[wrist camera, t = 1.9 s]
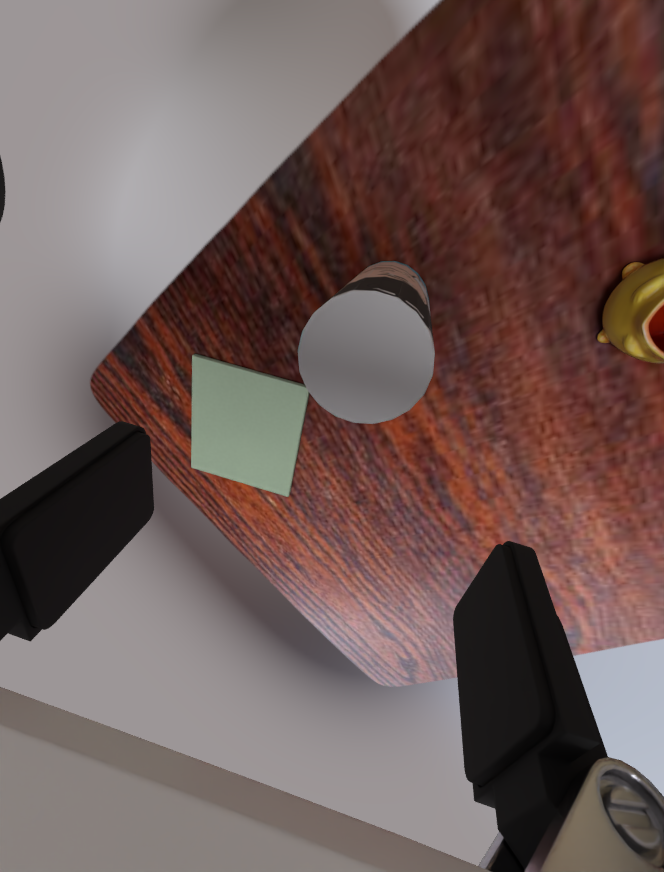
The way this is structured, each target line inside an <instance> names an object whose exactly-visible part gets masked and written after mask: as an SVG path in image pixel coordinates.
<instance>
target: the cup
mask: <svg viewBox="0 0 664 872" xmlns="http://www.w3.org/2000/svg"><path fill="white" fill-rule="evenodd" d="M434 356H435V352H434V343H433V334H432V325H431V316H430V307H429V298H428V294H427V290H426V285H425V284H424V282H423V280H422V279H421V277H420V276H419V274H418V273H417V272H416V271H414V270H413V269H412V268H410V267H409V266H408V265H405V264H402V263H399V262H396V261H381V262H379V263H376V264H373V265H371V266H368V267H367V268H366V269H365V270H364V271H362V272H361V273H360V274H359V275H358V276H356V277H355V278H354V279H353V280H352V281H350V282H349V283H348V284H347V285H346V286H345V287H343V288H342V289H341V290H340V291H339V292H338V293H336V294H335V295H334V296H333V297H332V298H331V299H329V300H328V301H327V302H326V303H325V304H324V305H322V306H321V307H320V308H319V309H318V310H316V311H315V312H314V313H313V315H312V316H311V318H310V320H309V321H308V323H307V324H306V326H305V328H304V329H303V331H302V335H301V339H300V344H299V348H298V360H299V371H300V374H301V376H302V379H303V381H304V383H305V386H306V388H307V390H308V391H309V393H310V394H311V395H312V396H313V398H314V399H315V400H316V401H317V403H318V404H319V405H320V406H322V407H323V408H325V409H326V410H327V411H329V412H330V413H332V414H333V415H335V416H336V417H339V418H342V419H345V420H348V421H351V422H354V423H370V424H374V423H379V422H383V421H387V420H392V419H394V418H396V417H398V416H399V415H401V414H403V413H405V412H406V411H408V410H410V409H411V408H412V407H413V406H414V405H415V404H416V403H417V401H418V400H419V399H420V398H421V397H422V396H423V395H424V393H425V391H426V389H427V387H428V385H429V382H430V380H431V378H432V376H433V367H434Z"/></svg>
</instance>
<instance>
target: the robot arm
mask: <svg viewBox="0 0 664 872" xmlns="http://www.w3.org/2000/svg"><path fill="white" fill-rule="evenodd" d="M153 511H154V500H153V481H152V463H151V444H150V437H149V436H148V435H146V432H145V430H144V428H142V427H139V426H136V425H133V424H129V423H126V422H123V421H122V422H118V423H116V424H114V425H113V426H111V427H109V428H108V429H106V430H105V431H103V432H102V433H100V434H99V435H97V436H96V437H94V438H93V439H91V440H90V441H88V442H87V443H85V444H83V445H82V446H80V447H79V448H77V449H76V450H74V451H73V452H71V453H70V454H68V455H67V456H65V457H64V458H62V459H61V460H59V461H58V462H56V463H54V464H53V465H51V466H50V467H49V468H47V469H45V470H44V471H42V472H41V473H39V474H38V475H36V476H35V477H33V478H32V479H30V480H29V481H27V482H25V483H24V484H22V485H21V486H19V487H18V488H17V489H15V490H13V491H12V492H10V493H9V494H7V495H6V496H4V497H3V498H1V499H0V640H1V639H2V638H3V637H4V636H5V635H6V634H7V633H9V634H12V635H14V636H17V637H20V638H22V639H25V640H28V641H31V640H32V639H33V638H34V637H35V636H36V635H37V634H38V633H39V632H40V631H41V630H42V629H44V630H45V629H48V628H49V627H51V626H52V625H53V624H54V623H55V622H56V621H57V620H58V619H59V618H60V617H61V616H62V615H63V613H65V611H66V610H67V609H68V608H69V607H70V606H71V605H72V604H73V603H74V602H75V600H76V599H77V598H78V597H79V596H80V595H81V594H82V593H83V592H84V591H85V590H86V589H87V587H88V586H89V585H90V584H91V583H92V582H93V581H94V580H95V579H96V578H97V576H99V574H100V573H101V572H102V571H103V570H104V569H105V568H106V567H107V566H108V565H109V564H110V562H111V561H112V560H113V559H114V558H115V557H116V556H117V555H118V554H119V553H120V552H121V550H122V549H123V548H124V547H125V546H126V545H127V544H128V543H129V542H130V541H131V540H132V538H133V537H134V536H135V535H136V534H137V533H138V532H139V531H140V529H142V528H143V526H144V525H145V524H146V523H147V522H148V521H149V520H150V518H151V516H152V514H153ZM453 625H454V638H455V651H456V664H457V677H458V690H459V703H460V716H461V729H462V742H463V755H464V768H465V774H466V777H467V779H468V781H470V782H472V783H473V792H474V801H476V802H478V803H481V804H484V805H487V806H490V807H492V808H495V809H496V817H497V825H498V830H499V833H498V834H497V836H496V838H495V839H494V841H493V843H492V844H491V846H490V847H489V849H488V851H487V853H486V854H485V856H484V857H483V859H482V861H481V862H480V864H479V866H476V865H473V864H471V863H468V862H466V861H463V860H461V859H458V858H456V857H453V856H451V855H448V854H446V853H443V852H441V851H438V850H436V849H433V848H431V847H428V846H426V845H423V844H421V843H418V842H416V841H413V840H411V839H408V838H406V837H403V836H401V835H398V834H395V833H393V832H390V831H387V830H384V829H382V828H379V827H376V826H374V825H371V824H369V823H366V822H363V821H361V820H358V819H355V818H352V817H350V816H347V815H345V814H342V813H340V812H337V811H334V810H331V809H329V808H326V807H323V806H321V805H318V804H316V803H313V802H310V801H308V800H305V799H302V798H300V797H297V796H294V795H292V794H289V793H287V792H284V791H281V790H279V789H276V788H273V787H271V786H268V785H265V784H262V783H260V782H257V781H254V780H252V779H249V778H246V777H244V776H241V775H238V774H236V773H233V772H230V771H227V770H225V769H222V768H219V767H217V766H214V765H211V764H209V763H206V762H203V761H201V760H198V759H195V758H193V757H190V756H187V755H184V754H182V753H179V752H176V751H173V750H171V749H168V748H166V747H163V746H160V745H157V744H155V743H152V742H149V741H147V740H144V739H141V738H138V737H136V736H133V735H130V734H128V733H125V732H122V731H120V730H117V729H114V728H111V727H108V726H106V725H103V724H100V723H98V722H95V721H92V720H89V719H87V718H84V717H81V716H78V715H76V714H73V713H70V712H68V711H65V710H62V709H59V708H57V707H54V706H51V705H48V704H45V703H43V702H40V701H37V700H35V699H32V698H29V697H26V696H24V695H21V694H18V693H15V692H13V691H10V690H7V689H5V688H1V687H0V872H664V796H662V794H661V793H660V792H659V791H658V789H657V788H656V787H655V786H654V785H653V784H652V783H651V782H650V781H649V780H648V779H647V778H646V777H645V776H644V775H642V774H641V773H640V772H639V771H637V770H636V769H635V768H633V767H632V766H630V765H628V764H626V763H624V762H623V761H621V760H617V759H613V758H609V757H608V756H607V753H606V750H605V747H604V744H603V741H602V738H601V736H600V733H599V730H598V727H597V724H596V721H595V718H594V715H593V713H592V710H591V707H590V704H589V701H588V698H587V695H586V692H585V689H584V687H583V684H582V681H581V678H580V675H579V672H578V669H577V666H576V663H575V661H574V658H573V655H572V652H571V649H570V646H569V643H568V640H567V637H566V634H565V632H564V629H563V626H562V623H561V621H560V619H559V617H558V616H557V614H556V611H555V609H554V606H553V603H552V600H551V597H550V594H549V591H548V588H547V585H546V582H545V579H544V576H543V573H542V570H541V567H540V565H539V562H538V559H537V556H536V553H535V551H534V550H533V549H532V548H530V547H527V546H524V545H520V544H517V543H514V542H511V541H507V542H505V543H504V544H503V545H501V544H498V545H496V546H495V548H494V549H493V551H492V552H491V554H490V555H489V557H488V558H487V560H486V561H485V563H484V565H483V566H482V568H481V569H480V571H479V572H478V574H477V575H476V577H475V578H474V580H473V581H472V583H471V584H470V586H469V587H468V589H467V591H466V592H465V594H464V595H463V597H462V598H461V600H460V601H459V603H458V604H457V606H456V608H455V611H454V616H453Z"/></svg>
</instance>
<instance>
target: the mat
mask: <svg viewBox="0 0 664 872" xmlns="http://www.w3.org/2000/svg"><path fill="white" fill-rule="evenodd" d="M308 397H309V391H308V390H307V388H306V386H305V385H304V384H301V383H297V382H294V381H290V380H286V379H283V378H279V377H276V376H272V375H269V374H265V373H262V372H258V371H254V370H251V369H247V368H244V367H240V366H237V365H233V364H230V363H226V362H223V361H219V360H215V359H212V358H208V357H205V356H201V355H198V354H194V355H192V448H191V467H192V468H195V469H198V470H201V471H205V472H208V473H211V474H214V475H218V476H221V477H224V478H228V479H231V480H234V481H237V482H241V483H244V484H247V485H251V486H254V487H257V488H261V489H264V490H267V491H270V492H274V493H277V494H280V495H284V496H287V497H289V495H290V491H291V485H292V480H293V475H294V470H295V465H296V459H297V454H298V449H299V444H300V439H301V434H302V428H303V423H304V418H305V413H306V408H307V403H308Z"/></svg>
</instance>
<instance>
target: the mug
mask: <svg viewBox="0 0 664 872" xmlns="http://www.w3.org/2000/svg"><path fill="white" fill-rule="evenodd" d="M602 323H603V330H602V331H601V332H600V333H599V334H598V336H597V339H598V341H599V342H601V343H609V342H611V344H613V345H614V346H615V347H616V348H617V349H619V350H620V351H622V352H623V353H625V354H627V355H629V356H631V357H633V358H636V359H638V360H641V361H645V362H651V363H664V258H662V259H659V260H656V261H652V262H650V263H647V264H642V263H639V262H633V263H630V264H628V265H627V266H626V267H625V268H624V269H623V271H622V281H621V282H620V283H619V284H618V285H617V286H616V288H615V289H614V290H613V291H612V293H611V294H610V296H609V298H608V299H607V301H606V303H605V306H604V309H603V316H602Z"/></svg>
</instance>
